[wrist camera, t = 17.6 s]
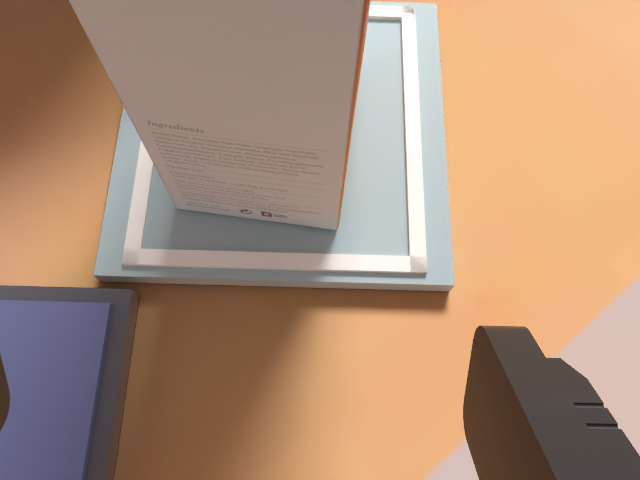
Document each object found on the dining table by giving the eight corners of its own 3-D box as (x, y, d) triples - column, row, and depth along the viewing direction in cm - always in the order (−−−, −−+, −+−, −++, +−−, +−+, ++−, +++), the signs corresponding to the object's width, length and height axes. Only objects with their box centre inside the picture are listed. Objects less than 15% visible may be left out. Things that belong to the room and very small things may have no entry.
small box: (340, 234, 21) (380, -69, 9) (172, 211, 21) (-9, -115, 9) (364, 58, 24) (420, -351, 12) (217, 40, 24) (124, -381, 12)
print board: (101, 281, 21) (91, 273, 20) (147, 7, 26) (141, -10, 25) (449, 291, 21) (455, 283, 20) (432, 16, 26) (437, -1, 25)
